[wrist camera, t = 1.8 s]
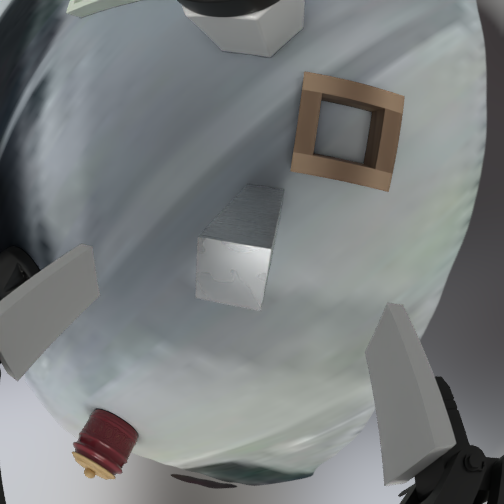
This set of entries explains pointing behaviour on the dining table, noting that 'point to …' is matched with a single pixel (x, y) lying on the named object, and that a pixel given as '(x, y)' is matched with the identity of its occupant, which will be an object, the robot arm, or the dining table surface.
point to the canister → (104, 445)
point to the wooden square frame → (379, 140)
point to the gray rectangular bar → (239, 249)
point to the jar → (247, 23)
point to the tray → (93, 6)
